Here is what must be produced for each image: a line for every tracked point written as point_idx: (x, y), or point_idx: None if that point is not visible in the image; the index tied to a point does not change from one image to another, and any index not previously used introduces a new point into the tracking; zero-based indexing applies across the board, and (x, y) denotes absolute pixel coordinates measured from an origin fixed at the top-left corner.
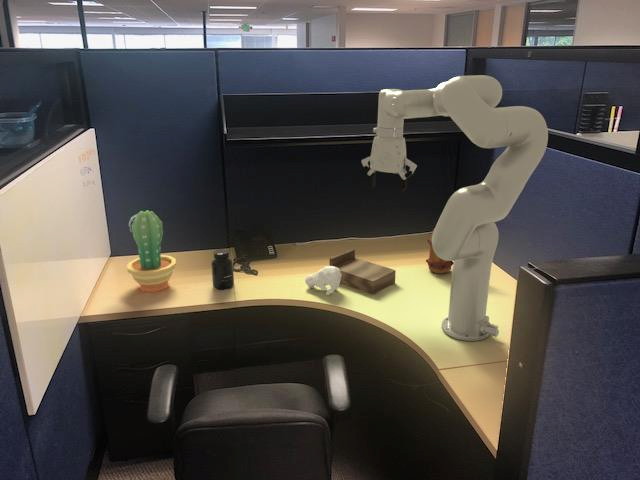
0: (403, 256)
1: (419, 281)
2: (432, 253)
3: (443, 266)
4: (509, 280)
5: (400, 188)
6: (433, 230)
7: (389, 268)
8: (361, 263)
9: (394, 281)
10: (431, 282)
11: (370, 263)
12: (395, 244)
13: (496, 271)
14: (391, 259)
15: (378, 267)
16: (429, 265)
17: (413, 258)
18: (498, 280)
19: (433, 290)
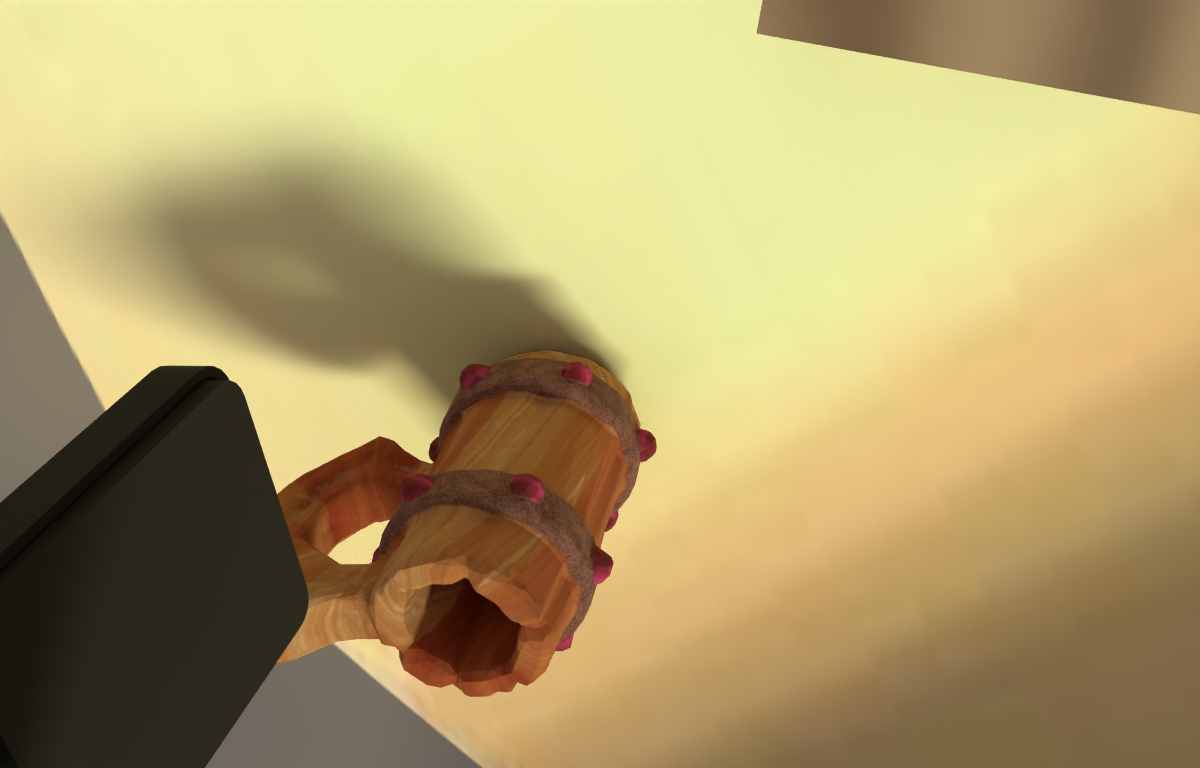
0: (936, 562)
1: (598, 144)
2: (553, 447)
3: (465, 368)
4: None
5: (128, 425)
6: (539, 649)
7: (832, 41)
8: (1197, 8)
9: None
10: (509, 174)
11: (1089, 66)
12: (1096, 756)
13: None
14: (1012, 471)
15: (956, 3)
16: (598, 380)
17: (842, 553)
18: None
19: (421, 28)
